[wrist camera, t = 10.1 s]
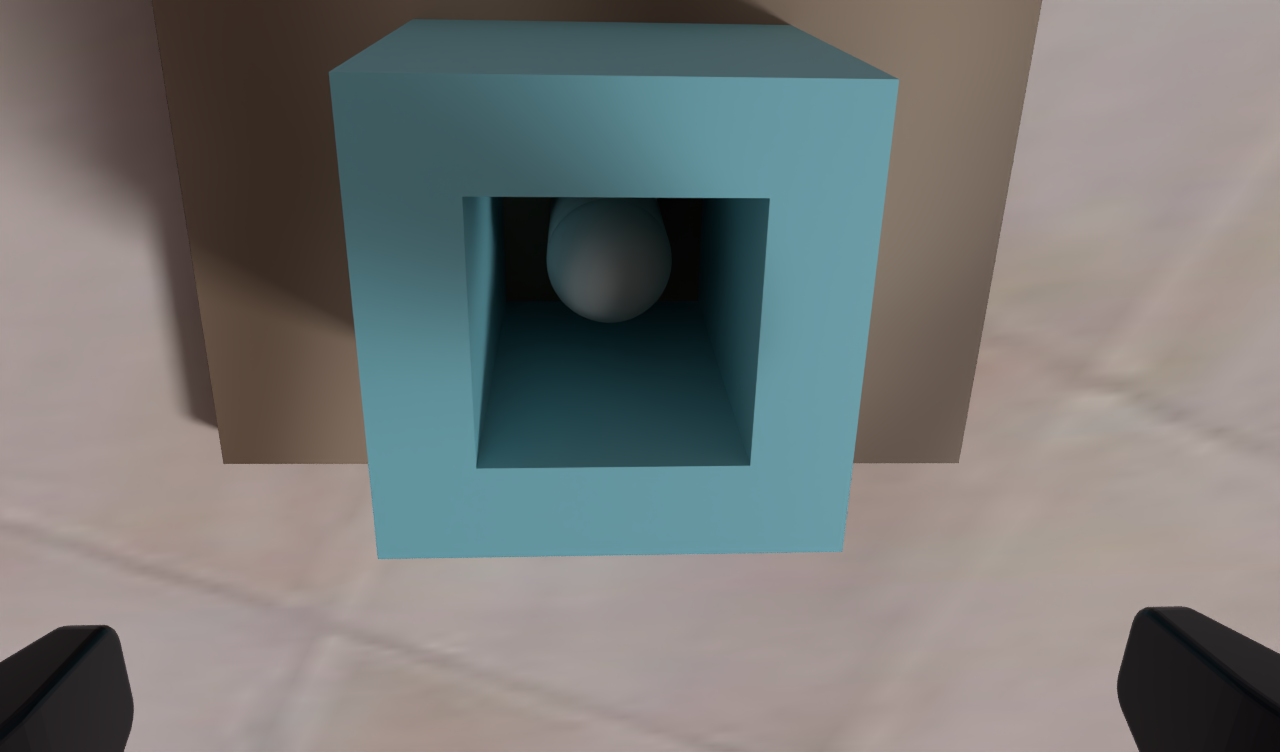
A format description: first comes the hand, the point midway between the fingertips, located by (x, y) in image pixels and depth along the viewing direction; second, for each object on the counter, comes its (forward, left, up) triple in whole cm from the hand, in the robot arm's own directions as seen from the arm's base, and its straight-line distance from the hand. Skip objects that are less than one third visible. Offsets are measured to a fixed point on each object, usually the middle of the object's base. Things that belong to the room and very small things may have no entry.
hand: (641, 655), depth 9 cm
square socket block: (0, +1, -10) cm, 10 cm away
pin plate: (0, +1, -11) cm, 11 cm away
